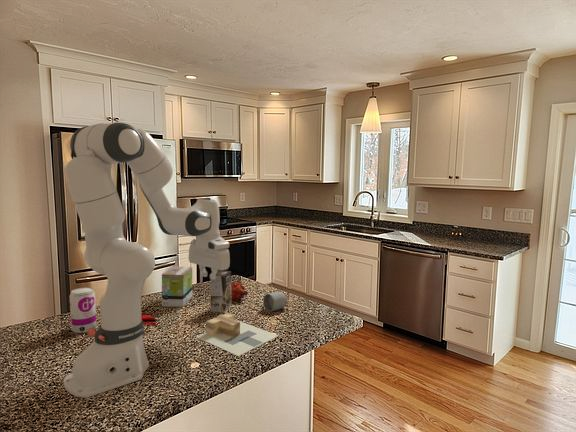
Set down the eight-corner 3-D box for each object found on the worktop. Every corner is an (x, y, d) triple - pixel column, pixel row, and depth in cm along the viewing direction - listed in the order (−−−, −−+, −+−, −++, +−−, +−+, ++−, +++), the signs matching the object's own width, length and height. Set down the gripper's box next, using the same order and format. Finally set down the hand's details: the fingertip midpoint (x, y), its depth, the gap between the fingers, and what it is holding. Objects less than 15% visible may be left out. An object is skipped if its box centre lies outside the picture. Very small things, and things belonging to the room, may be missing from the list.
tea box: (184, 307, 164) (183, 274, 163) (161, 307, 165) (160, 274, 163) (193, 296, 179) (192, 266, 178) (172, 296, 179) (171, 265, 178)
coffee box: (224, 313, 157) (224, 276, 155) (210, 312, 158) (209, 275, 157) (232, 306, 166) (231, 270, 164) (218, 305, 167) (217, 269, 165)
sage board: (238, 357, 120) (238, 355, 120) (195, 338, 133) (195, 336, 133) (279, 336, 135) (279, 335, 135) (236, 321, 149) (236, 320, 149)
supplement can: (99, 329, 140) (98, 290, 139) (75, 335, 134) (73, 295, 133) (91, 323, 146) (89, 285, 144) (68, 329, 140) (66, 290, 138)
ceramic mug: (288, 309, 163) (288, 292, 162) (273, 314, 157) (273, 296, 157) (272, 303, 171) (272, 287, 170) (258, 307, 165) (258, 290, 164)
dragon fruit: (231, 297, 182) (243, 308, 173) (219, 290, 177) (230, 301, 168) (241, 283, 184) (254, 292, 174) (229, 275, 178) (241, 285, 169)
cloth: (109, 314, 158) (109, 308, 157) (142, 307, 166) (142, 302, 166) (128, 334, 138) (128, 328, 137) (165, 325, 146) (165, 319, 146)
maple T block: (224, 340, 130) (224, 328, 130) (206, 333, 137) (206, 321, 136) (247, 330, 139) (247, 319, 138) (229, 323, 145) (229, 312, 145)
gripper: (184, 239, 145) (184, 274, 146) (219, 246, 132) (219, 284, 133) (197, 237, 149) (198, 271, 151) (232, 243, 137) (232, 280, 138)
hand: (208, 277), depth 142 cm, fingers open, 3 cm apart
